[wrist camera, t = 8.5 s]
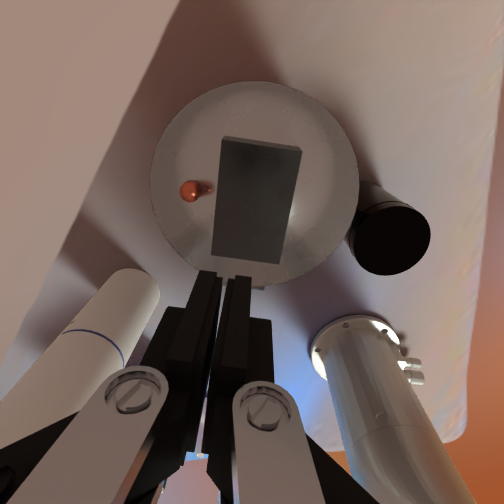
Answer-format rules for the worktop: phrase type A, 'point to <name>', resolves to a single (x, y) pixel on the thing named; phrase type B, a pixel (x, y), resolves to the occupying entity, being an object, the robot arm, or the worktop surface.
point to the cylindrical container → (81, 356)
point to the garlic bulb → (201, 431)
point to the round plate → (254, 182)
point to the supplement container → (386, 232)
